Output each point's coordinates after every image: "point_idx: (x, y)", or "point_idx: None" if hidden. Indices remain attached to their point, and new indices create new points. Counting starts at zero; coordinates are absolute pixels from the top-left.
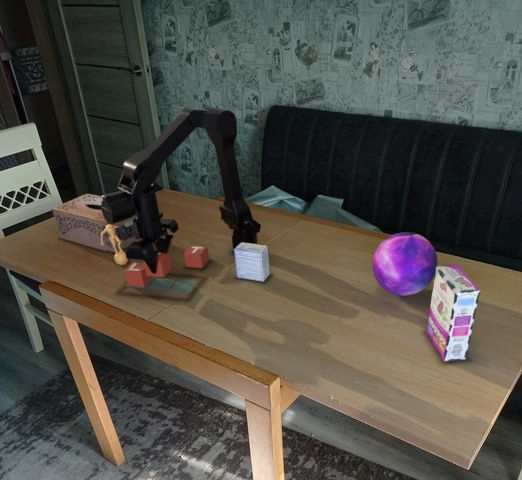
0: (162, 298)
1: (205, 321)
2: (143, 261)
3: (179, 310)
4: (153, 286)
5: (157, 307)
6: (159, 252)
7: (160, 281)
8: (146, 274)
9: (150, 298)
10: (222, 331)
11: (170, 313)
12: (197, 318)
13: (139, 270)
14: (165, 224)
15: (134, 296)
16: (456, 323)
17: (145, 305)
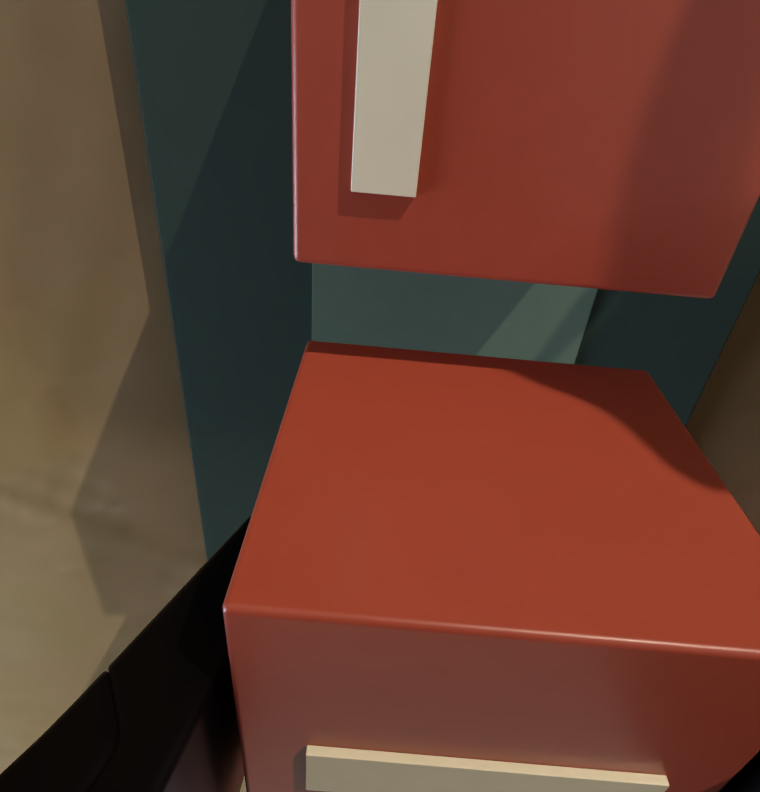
0: (189, 439)
1: (39, 708)
2: (239, 566)
3: (75, 589)
4: (367, 299)
5: (32, 444)
6: (704, 788)
7: (498, 339)
8: (305, 351)
9: (148, 329)
10: (2, 763)
11: (8, 550)
12: (44, 678)
13: (361, 202)
14: None
15: (116, 99)
16: None
17: (3, 328)
